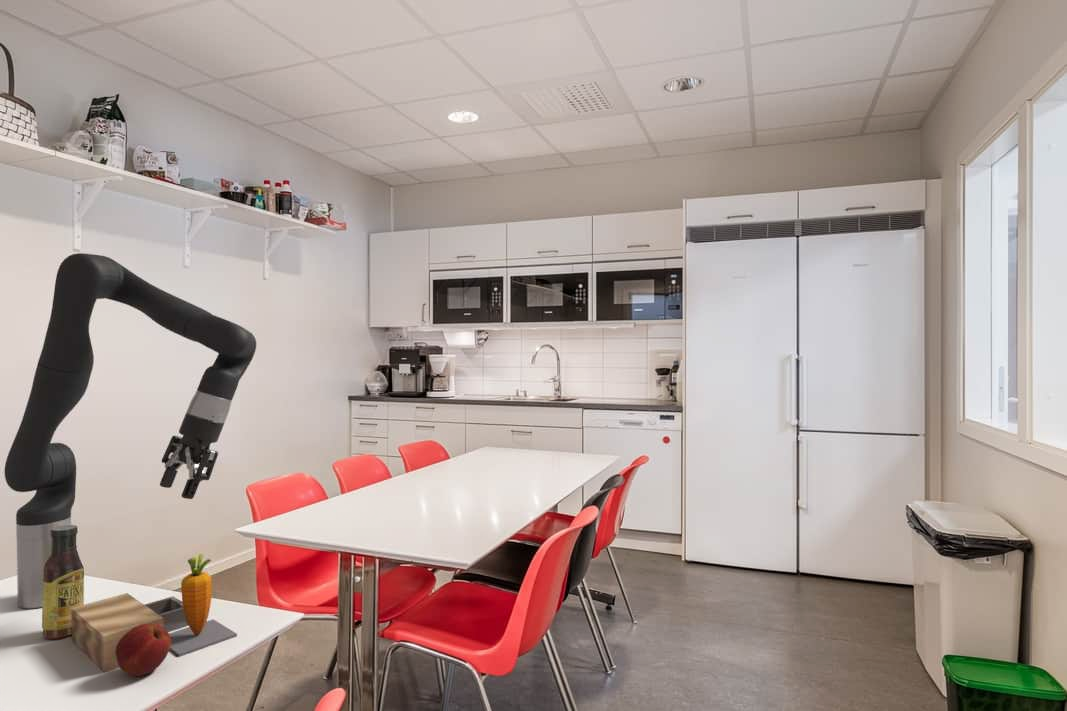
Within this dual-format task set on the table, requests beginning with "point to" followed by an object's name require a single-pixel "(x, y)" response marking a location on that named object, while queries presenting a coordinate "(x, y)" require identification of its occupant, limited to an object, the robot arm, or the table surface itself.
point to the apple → (143, 649)
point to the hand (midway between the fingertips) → (175, 492)
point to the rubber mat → (199, 638)
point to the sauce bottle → (62, 583)
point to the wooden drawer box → (119, 624)
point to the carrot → (196, 595)
